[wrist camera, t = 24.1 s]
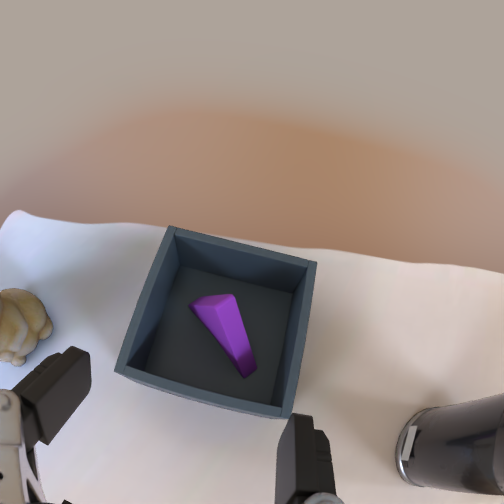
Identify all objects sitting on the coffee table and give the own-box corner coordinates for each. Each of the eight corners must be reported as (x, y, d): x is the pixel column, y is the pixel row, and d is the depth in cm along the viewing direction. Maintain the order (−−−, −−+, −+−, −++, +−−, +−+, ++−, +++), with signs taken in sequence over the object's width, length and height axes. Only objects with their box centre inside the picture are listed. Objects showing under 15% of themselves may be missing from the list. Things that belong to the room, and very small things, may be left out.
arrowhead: (226, 342, 34) (280, 387, 25) (214, 351, 33) (265, 398, 24) (184, 265, 30) (233, 294, 21) (170, 274, 29) (214, 307, 21)
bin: (299, 291, 34) (317, 261, 28) (274, 419, 27) (290, 419, 21) (175, 260, 34) (168, 224, 28) (134, 381, 27) (113, 371, 21)
